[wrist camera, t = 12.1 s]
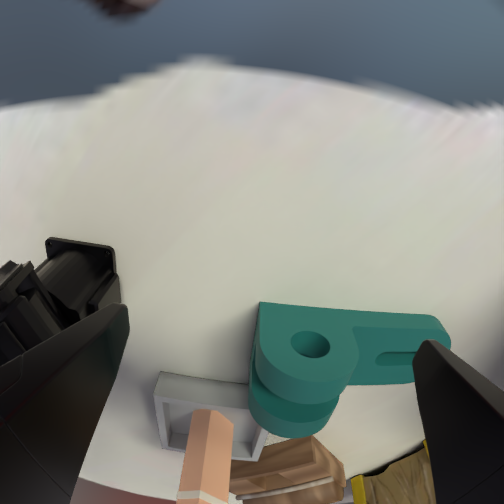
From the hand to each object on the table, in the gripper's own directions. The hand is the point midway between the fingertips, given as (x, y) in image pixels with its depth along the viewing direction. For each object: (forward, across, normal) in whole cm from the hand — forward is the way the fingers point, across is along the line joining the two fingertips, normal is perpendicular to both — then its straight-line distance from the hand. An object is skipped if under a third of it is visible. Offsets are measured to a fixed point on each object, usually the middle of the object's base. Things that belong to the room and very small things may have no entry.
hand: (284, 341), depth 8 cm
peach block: (+12, +2, +23) cm, 26 cm away
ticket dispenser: (+13, -8, +35) cm, 38 cm away
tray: (+13, +2, +23) cm, 26 cm away
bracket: (+14, -10, +11) cm, 20 cm away
